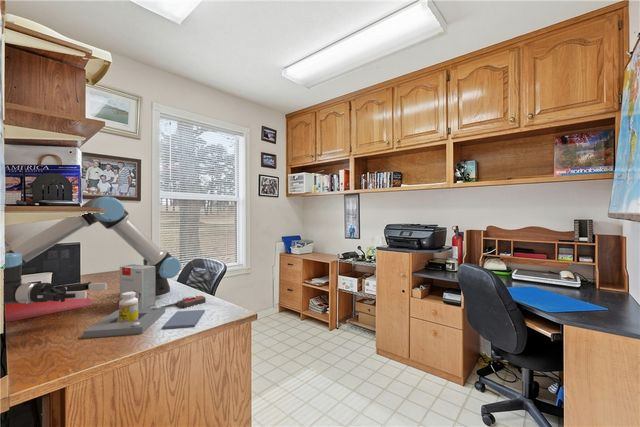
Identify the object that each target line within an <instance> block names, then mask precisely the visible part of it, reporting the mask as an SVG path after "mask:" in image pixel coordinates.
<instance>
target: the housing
mask: <svg viewBox="0 0 640 427" xmlns="http://www.w3.org/2000/svg"><path fill="white" fill-rule="evenodd" d="M165 313H166V308H165V307H162V306H160V305H154V306H152V307H149V308H141V309H138V320H137V321H134V322H119V309H117V310H115V311H113V312H112V313H110V314H108V315H107V316H105V317H104V318H102V319H101V320H99V321H97V322H96V323H94V324H93V325H91V326H89V327H88V328H86V329H85V330H83V331H82V339H88V338H89V339H90V338H102V337H114V336H115V337H118V336H128V335H142V334H144V333H146V332H147V331H148V329H149V328H150V327H151V326H152V325H153V324H155V322H157V321H158V320H159V318H161V317H162V316H163V315H164V314H165Z"/></svg>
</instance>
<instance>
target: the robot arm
mask: <svg viewBox="0 0 640 427" xmlns="http://www.w3.org/2000/svg"><path fill="white" fill-rule="evenodd" d="M81 206H82V207H99V208H105V210H106V211H105V213H104V214H100V213H93V214H91V213H88V214H84V215H82V216H78V217H68V216H67V217H65V218H64V219H61V220H60V221H58V222H57V223H54V224H53V225H51V226H50V227H48V228H45V230H43V231H40V232H39V233H37V234H36V235H34V236H32V237H30V238H29V239H26V240H25V241H23V242H22V243H20V244H18V245H16V246H14V247H13V248H11V249H10V250H8V251H6V252H5V253H6V255H5V271H4V304H3V305H10V304H11V305H12V304H26V305H30V303H31V304H32V303H47V302H57V303H58V302H59V301H60V303H64V302H65V301H66V300H82V299H87V296H88V295H87V292H88V291H102V290H103V291H104V290H105V291H106V290H107V285H108V284H107V282H98V283H92V281H88V282H85V283H84V282H83V283H82V282H81V283H75V284H73V283H72V284H61V285H56V286H55V287H54V285H53V284H52V283H51V282H27V283H25V282H24V283H22V273H23V270H22V268H23V265H25V264H26V263H28V262H29V261H31V260H32V259H34V258H35V257H37V256H39V255H40V254H42V253H44V252H46V251H47V250H48V249H50V248H52V247H53V246H55V245H57V244H59V243H60V242H61V241H64V240H65V239H66V238H68V237H70V236H71V235H74V234H75V233H76V232H78V231H80V230H82V229H83V228H86V227H87V228H89V227H90V226H91V225H94V224H96V223H99V224H100V225H102V227H104V228H105V229H106V230H113V231H114V232H115V233H116V234H117V235H118V236H119V238H121V239H123V241H125V242H126V243H127V244H128V245H129V246H130V247H131V248H132V249H134V251H135V252H136V253H137V254H139V255H140V256H141V257H142V258H143V260H142V262H143V265H146V266H155V296H160V295H164V294H168V293H169V292H170V291H171V285H170V284H169V280H168V279H172V278H175V277H177V276H178V274H179V273H180V271H181V267H182V263H181V261H180V259H178V258H177V257H176V256H175V257H174V256H172V254H170V253H169V251H167V250H166V249H161V248H160V247H159V246H157V244H156V243H155V242H154V241H153V240H151V238H150V237H149V236H148V235H146V233H145V232H144V231H142V229H141V228H139V226H138V225H136V224H135V222H133V220H131V219H130V218H129V216H130V213H129V212H128V211H127V210H126V209H125V206H124V204H123V203H122V201H121V200H119V199H118V198H116V197H113V196H107V195H106V196H100V197H93V198H91V199H89V200H88V201H86V202H85V203H84V204H82V205H81Z"/></svg>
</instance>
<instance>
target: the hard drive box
mask: <svg viewBox="0 0 640 427" xmlns="http://www.w3.org/2000/svg"><path fill="white" fill-rule="evenodd" d="M126 292H135V294H136V295H135V298H137V299H138V309H141V308H152V307H154V306H156V295H155V266H146V265H144V264H128V265H122V266H119V302H120V301H121V300H122V299H123V298H122V294H123V293H126Z"/></svg>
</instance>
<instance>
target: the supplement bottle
mask: <svg viewBox="0 0 640 427" xmlns="http://www.w3.org/2000/svg"><path fill="white" fill-rule="evenodd" d="M135 295H136V294H135V292H126V293H123V294H122V298H123V299H122V300H121V301H120V300H119V303H118V310H119V322H134V321H137V320H139V319H138V299H137V298H135Z"/></svg>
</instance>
